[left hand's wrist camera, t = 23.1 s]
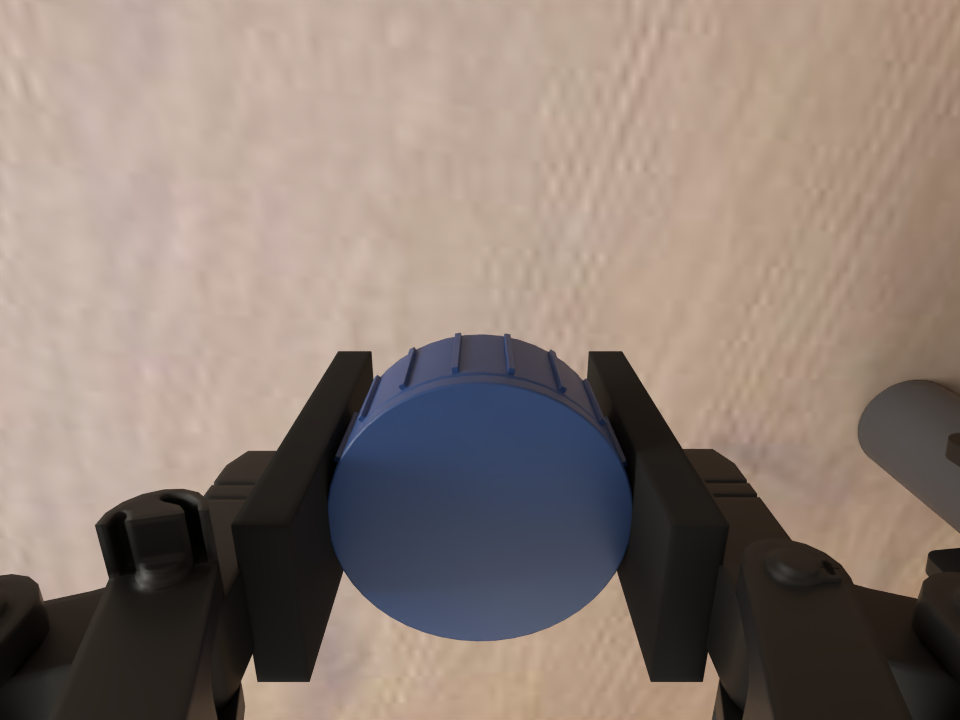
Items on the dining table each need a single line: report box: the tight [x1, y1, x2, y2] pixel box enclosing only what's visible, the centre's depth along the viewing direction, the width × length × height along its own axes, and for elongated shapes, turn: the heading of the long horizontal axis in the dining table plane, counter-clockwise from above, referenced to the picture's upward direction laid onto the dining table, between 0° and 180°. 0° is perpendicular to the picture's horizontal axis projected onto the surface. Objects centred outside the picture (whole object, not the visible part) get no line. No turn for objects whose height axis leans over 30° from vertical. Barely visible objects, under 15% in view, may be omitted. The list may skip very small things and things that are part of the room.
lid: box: [327, 333, 633, 641], centre depth 11 cm, size 5×5×2 cm
